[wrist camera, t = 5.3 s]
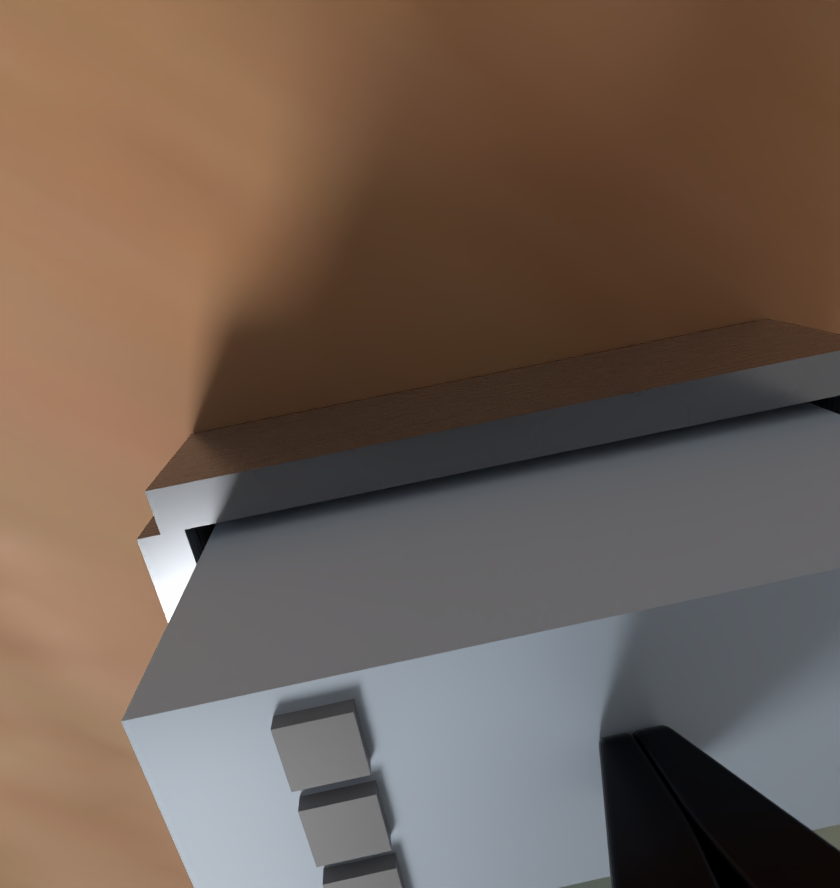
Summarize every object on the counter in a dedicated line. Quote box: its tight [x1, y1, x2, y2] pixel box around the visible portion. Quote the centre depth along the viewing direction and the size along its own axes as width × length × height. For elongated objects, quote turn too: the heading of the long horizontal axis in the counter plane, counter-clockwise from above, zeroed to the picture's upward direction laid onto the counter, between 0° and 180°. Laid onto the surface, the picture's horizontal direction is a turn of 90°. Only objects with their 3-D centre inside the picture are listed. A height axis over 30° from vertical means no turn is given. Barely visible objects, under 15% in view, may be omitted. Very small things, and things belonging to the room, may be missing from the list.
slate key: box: [121, 402, 840, 888], centre depth 10 cm, size 11×4×6 cm, turn 100°
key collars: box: [137, 319, 840, 623], centre depth 16 cm, size 13×24×3 cm, turn 10°
